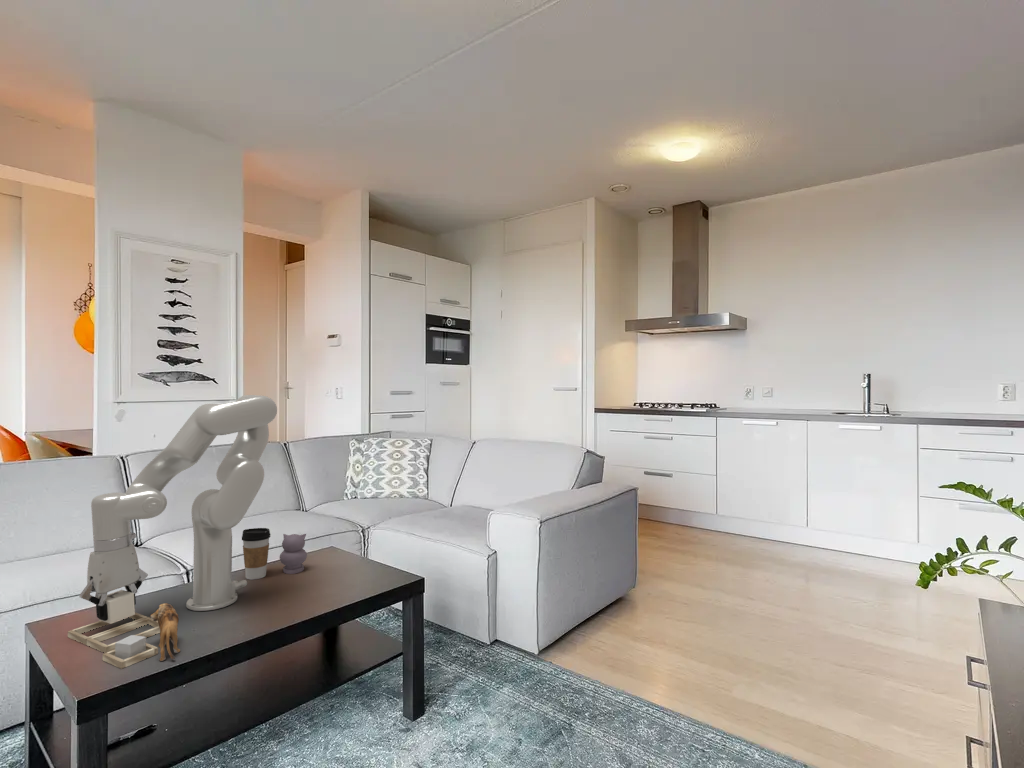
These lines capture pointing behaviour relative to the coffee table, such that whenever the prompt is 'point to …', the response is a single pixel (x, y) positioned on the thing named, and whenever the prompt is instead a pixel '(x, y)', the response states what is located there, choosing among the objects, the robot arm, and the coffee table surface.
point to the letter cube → (119, 606)
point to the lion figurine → (167, 628)
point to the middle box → (96, 641)
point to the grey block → (130, 646)
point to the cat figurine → (293, 553)
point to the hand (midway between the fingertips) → (116, 613)
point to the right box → (77, 633)
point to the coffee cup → (255, 552)
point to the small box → (120, 663)
